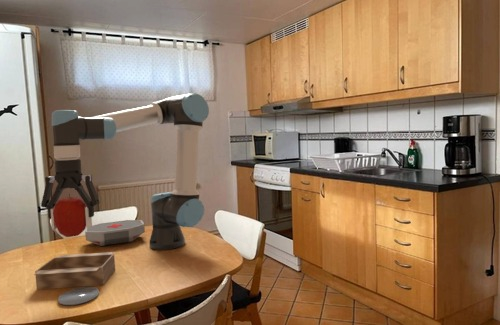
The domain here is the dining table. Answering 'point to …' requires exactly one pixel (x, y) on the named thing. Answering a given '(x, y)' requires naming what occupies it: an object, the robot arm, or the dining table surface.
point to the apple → (70, 216)
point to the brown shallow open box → (76, 271)
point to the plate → (78, 295)
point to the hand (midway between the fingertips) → (72, 227)
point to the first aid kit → (114, 232)
